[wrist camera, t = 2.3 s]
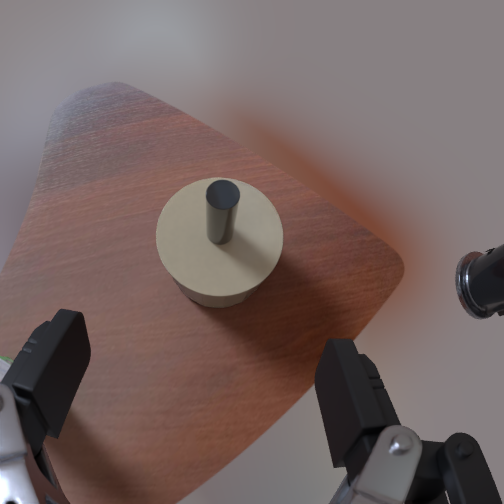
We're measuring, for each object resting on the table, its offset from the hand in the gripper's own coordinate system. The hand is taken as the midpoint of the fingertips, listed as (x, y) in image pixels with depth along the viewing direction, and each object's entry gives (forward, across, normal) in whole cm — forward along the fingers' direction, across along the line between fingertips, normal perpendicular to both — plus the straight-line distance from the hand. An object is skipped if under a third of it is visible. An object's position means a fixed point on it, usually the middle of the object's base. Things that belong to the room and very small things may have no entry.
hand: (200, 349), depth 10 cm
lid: (+22, 0, +5) cm, 22 cm away
